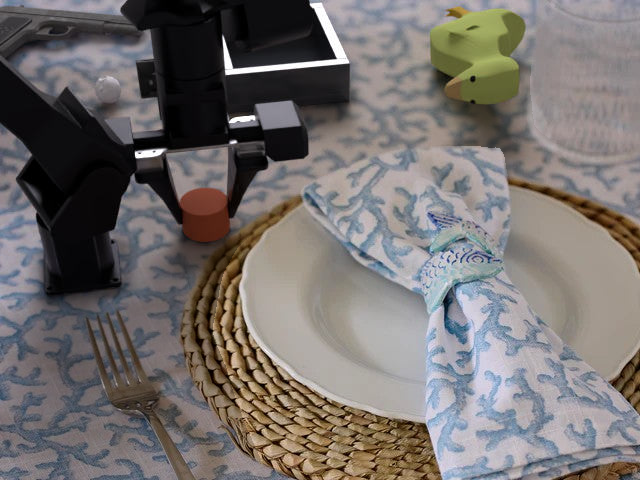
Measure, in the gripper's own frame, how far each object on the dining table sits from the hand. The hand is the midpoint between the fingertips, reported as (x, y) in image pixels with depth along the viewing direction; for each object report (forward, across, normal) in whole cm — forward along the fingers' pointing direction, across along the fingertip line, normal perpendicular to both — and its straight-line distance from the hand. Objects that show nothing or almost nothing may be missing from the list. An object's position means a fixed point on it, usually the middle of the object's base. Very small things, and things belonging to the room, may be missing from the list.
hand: (205, 218), depth 94 cm
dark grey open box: (+1, -12, -28) cm, 30 cm away
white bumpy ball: (+1, +8, -25) cm, 26 cm away
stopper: (+1, 0, 0) cm, 1 cm away
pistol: (0, +15, -34) cm, 37 cm away
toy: (-1, -32, -32) cm, 45 cm away
